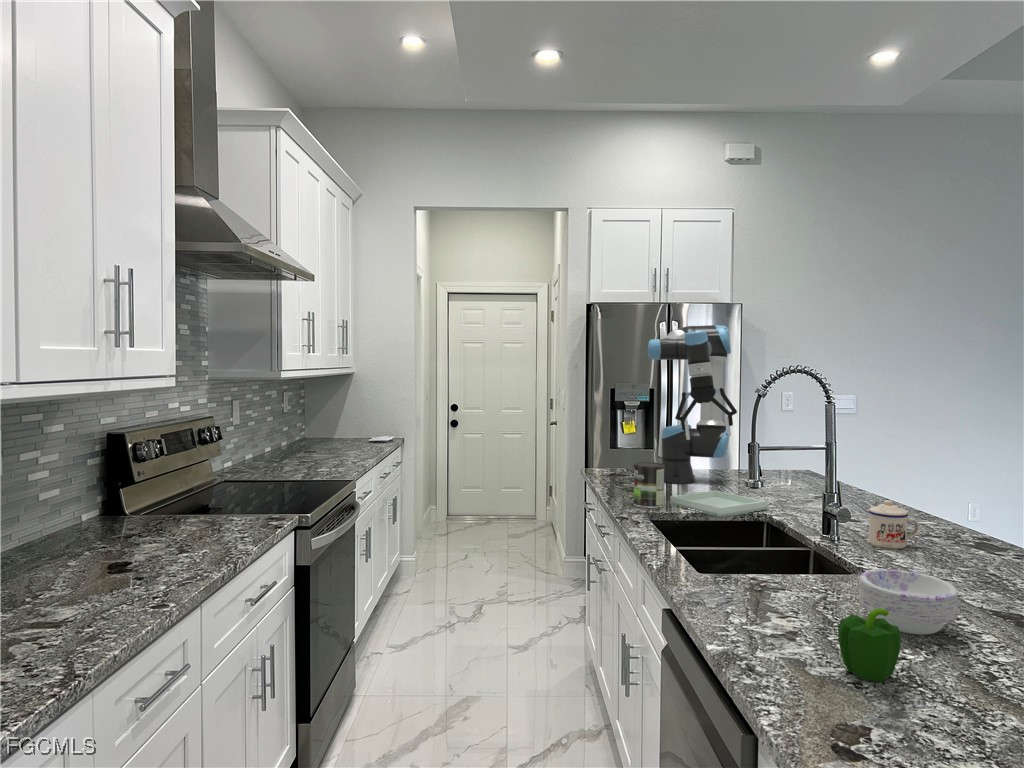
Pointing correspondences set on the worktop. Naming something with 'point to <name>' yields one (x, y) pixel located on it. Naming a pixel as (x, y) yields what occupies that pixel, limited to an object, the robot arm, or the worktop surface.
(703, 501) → the tray
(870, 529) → the teacup with lid
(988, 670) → the worktop surface
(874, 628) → the bell pepper
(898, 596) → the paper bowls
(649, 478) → the coffee can
